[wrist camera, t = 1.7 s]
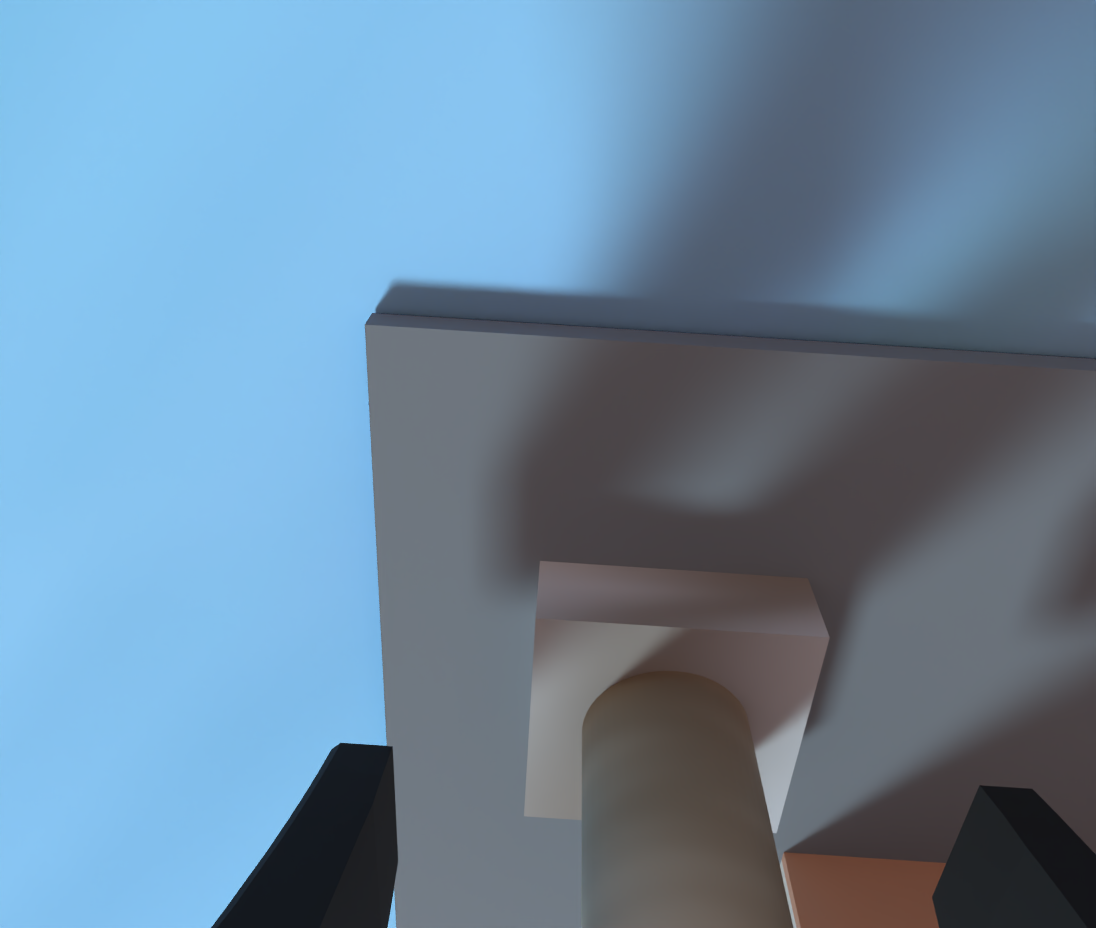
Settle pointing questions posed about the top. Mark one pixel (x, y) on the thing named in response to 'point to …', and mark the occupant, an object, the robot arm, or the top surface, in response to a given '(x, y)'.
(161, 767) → the top surface
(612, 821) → the tamper
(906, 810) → the mat
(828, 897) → the tile
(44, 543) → the top surface
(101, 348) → the top surface
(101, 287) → the top surface
